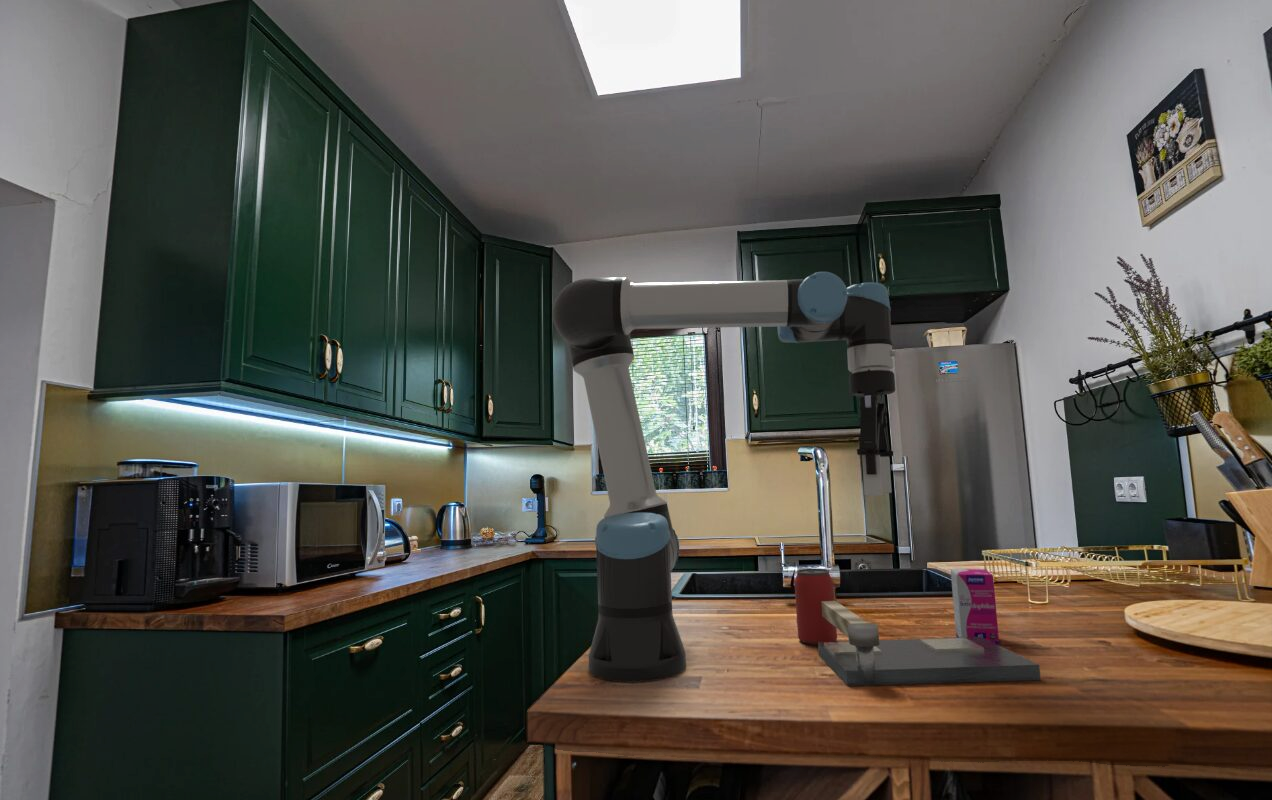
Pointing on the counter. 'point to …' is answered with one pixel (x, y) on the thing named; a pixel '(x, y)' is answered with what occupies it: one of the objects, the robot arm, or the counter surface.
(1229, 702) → the counter surface
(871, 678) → the post
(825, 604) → the rail
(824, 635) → the beer can
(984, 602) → the supplement box
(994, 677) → the board
